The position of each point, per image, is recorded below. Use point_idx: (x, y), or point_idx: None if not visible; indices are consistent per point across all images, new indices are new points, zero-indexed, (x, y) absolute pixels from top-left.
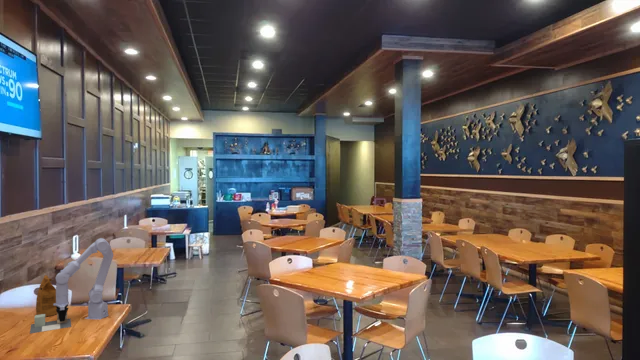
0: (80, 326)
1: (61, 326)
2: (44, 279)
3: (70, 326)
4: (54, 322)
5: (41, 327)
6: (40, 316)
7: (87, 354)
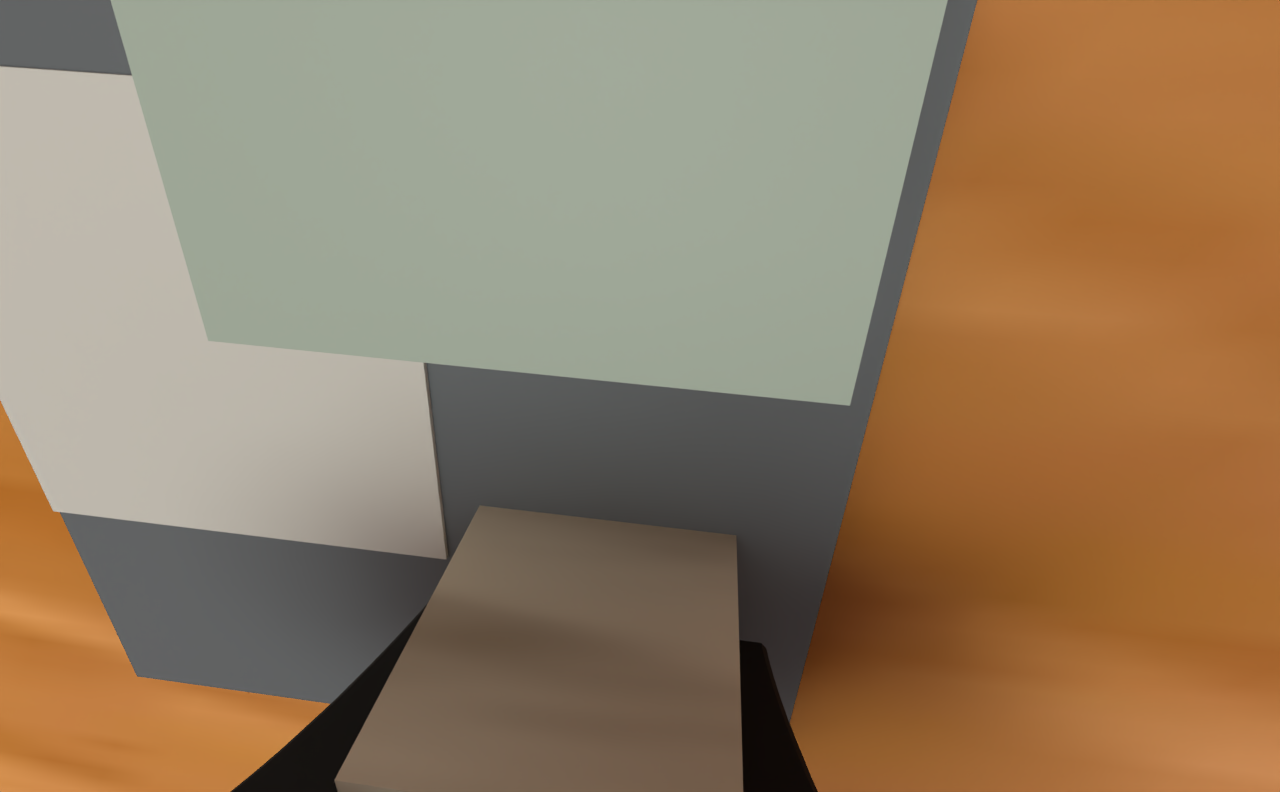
0: (205, 757)
1: (215, 549)
2: None
3: (161, 669)
4: (661, 468)
5: None
6: (270, 29)
7: None
